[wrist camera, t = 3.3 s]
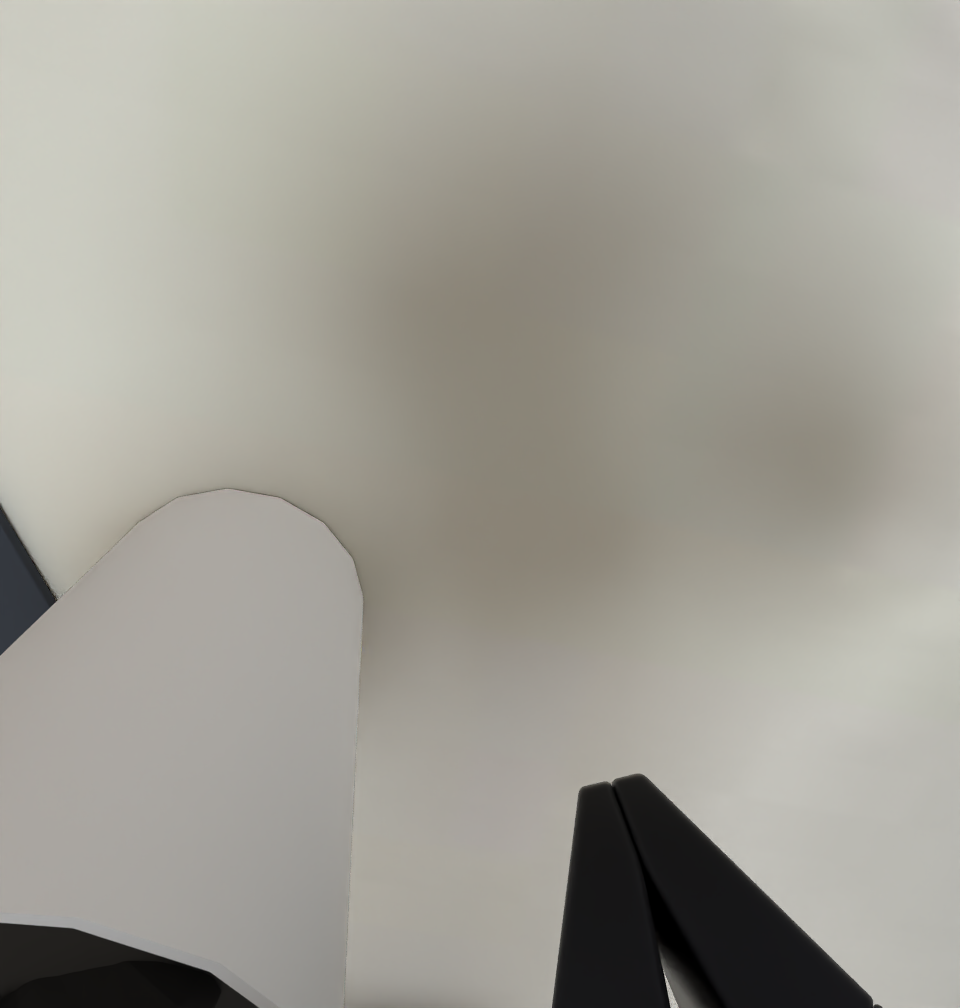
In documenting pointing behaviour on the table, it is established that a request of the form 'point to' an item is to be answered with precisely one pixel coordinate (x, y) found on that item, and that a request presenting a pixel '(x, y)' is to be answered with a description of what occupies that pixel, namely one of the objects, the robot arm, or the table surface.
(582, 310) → the table surface
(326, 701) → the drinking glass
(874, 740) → the table surface
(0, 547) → the rubber mat
